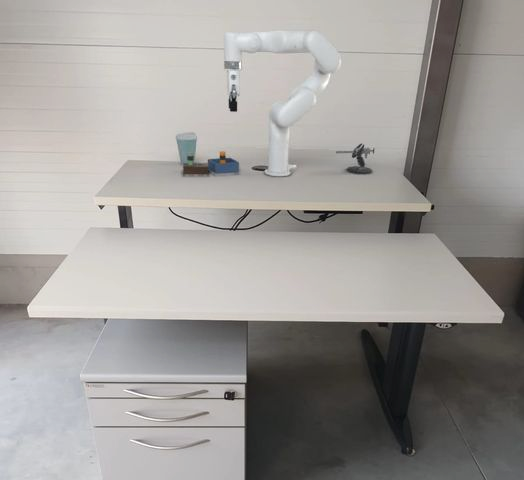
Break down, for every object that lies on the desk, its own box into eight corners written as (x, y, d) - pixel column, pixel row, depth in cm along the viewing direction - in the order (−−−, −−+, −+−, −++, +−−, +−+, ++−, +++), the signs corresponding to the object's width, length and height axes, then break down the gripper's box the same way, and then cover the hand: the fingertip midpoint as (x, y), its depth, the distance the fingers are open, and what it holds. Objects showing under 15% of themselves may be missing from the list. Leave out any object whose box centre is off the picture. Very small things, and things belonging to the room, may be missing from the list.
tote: (230, 169, 248) (230, 157, 246) (238, 174, 241) (238, 162, 238) (207, 170, 244) (207, 159, 241) (215, 175, 236) (215, 163, 233)
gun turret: (330, 168, 257) (333, 141, 250) (367, 167, 261) (370, 141, 254) (339, 174, 247) (342, 147, 240) (376, 173, 251) (381, 146, 244)
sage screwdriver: (188, 171, 237) (187, 151, 232) (194, 171, 238) (193, 151, 233) (187, 173, 235) (187, 153, 230) (194, 173, 235) (193, 153, 230)
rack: (183, 172, 239) (183, 162, 237) (207, 172, 241) (207, 163, 238) (183, 176, 233) (183, 166, 231) (208, 176, 235) (207, 166, 232)
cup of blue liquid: (181, 168, 247) (179, 135, 239) (173, 163, 255) (171, 131, 247) (201, 166, 251) (200, 134, 243) (193, 162, 259) (191, 130, 251)
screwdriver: (219, 170, 243) (219, 151, 238) (225, 170, 243) (225, 151, 238) (219, 172, 241) (219, 152, 236) (225, 172, 241) (225, 152, 236)
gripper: (243, 67, 207) (242, 112, 217) (240, 65, 222) (239, 107, 231) (225, 67, 207) (225, 112, 216) (223, 64, 221) (223, 107, 230)
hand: (232, 110), depth 223 cm, fingers open, 9 cm apart
